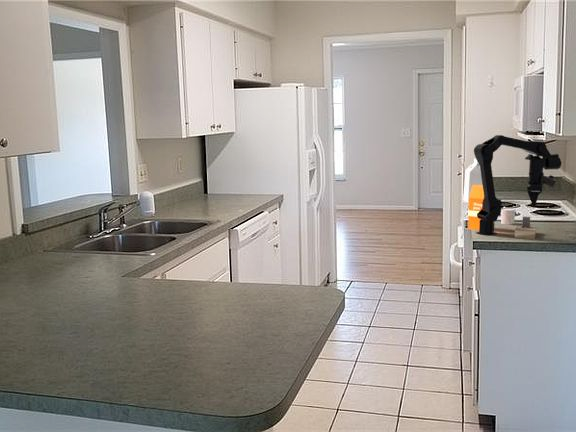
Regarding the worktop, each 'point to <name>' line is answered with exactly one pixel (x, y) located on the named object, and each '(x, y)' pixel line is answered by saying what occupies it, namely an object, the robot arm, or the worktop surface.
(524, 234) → the socket block
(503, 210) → the white cylinder
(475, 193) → the orange juice
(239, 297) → the worktop surface
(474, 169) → the milk
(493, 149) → the robot arm
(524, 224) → the square bit
